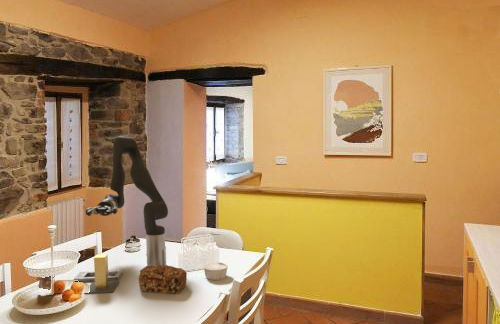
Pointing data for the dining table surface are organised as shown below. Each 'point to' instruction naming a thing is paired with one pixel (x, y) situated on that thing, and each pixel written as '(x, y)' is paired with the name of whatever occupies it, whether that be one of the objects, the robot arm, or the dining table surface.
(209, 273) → the ramekin
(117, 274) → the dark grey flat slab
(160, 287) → the bread
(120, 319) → the dining table surface
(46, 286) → the figurine
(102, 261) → the pale yellow block
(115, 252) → the dining table surface
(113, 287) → the rubber mat
